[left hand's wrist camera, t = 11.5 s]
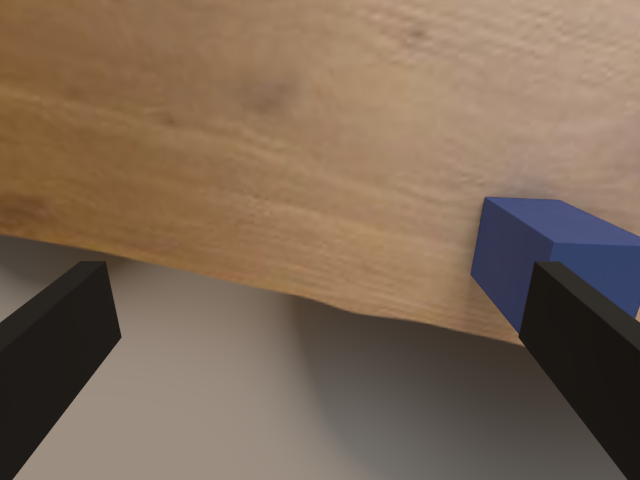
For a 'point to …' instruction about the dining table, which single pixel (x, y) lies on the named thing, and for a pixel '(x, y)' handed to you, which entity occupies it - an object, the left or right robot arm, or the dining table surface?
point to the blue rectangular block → (552, 252)
